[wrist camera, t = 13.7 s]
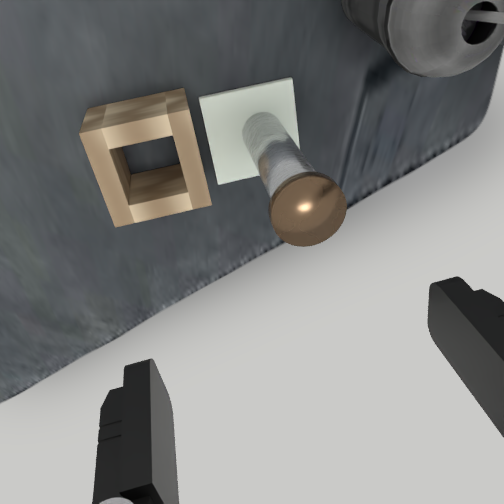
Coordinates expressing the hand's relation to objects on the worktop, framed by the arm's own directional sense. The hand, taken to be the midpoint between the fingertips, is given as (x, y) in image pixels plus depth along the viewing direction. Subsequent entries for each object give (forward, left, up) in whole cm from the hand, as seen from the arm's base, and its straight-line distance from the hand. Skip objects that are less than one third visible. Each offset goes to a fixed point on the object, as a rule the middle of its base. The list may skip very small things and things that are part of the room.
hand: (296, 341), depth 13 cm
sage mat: (-4, +6, -31) cm, 32 cm away
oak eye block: (+5, +5, -31) cm, 32 cm away
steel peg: (-4, +6, -30) cm, 31 cm away
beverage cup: (-15, -3, -31) cm, 34 cm away
